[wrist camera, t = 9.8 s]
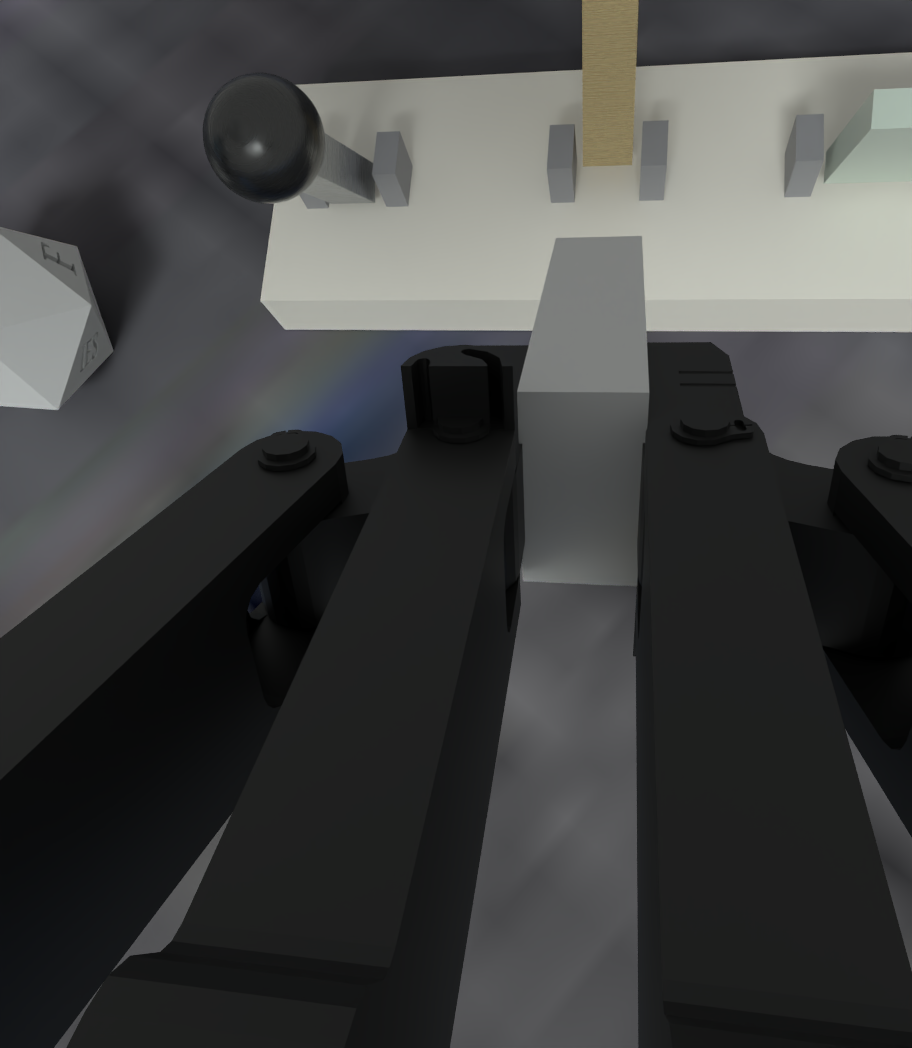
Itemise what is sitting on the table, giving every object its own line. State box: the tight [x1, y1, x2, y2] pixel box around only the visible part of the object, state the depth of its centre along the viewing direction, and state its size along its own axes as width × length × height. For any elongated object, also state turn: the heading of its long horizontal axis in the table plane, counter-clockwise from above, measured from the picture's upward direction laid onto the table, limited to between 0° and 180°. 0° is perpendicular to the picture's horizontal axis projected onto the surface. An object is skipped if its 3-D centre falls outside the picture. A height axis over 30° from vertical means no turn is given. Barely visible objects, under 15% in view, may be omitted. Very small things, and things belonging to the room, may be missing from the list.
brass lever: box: [582, 0, 639, 167], centre depth 32 cm, size 4×4×12 cm
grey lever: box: [203, 73, 375, 204], centre depth 33 cm, size 4×4×12 cm
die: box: [0, 227, 113, 410], centre depth 40 cm, size 8×9×10 cm
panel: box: [260, 52, 912, 332], centre depth 37 cm, size 11×30×5 cm, turn 85°
